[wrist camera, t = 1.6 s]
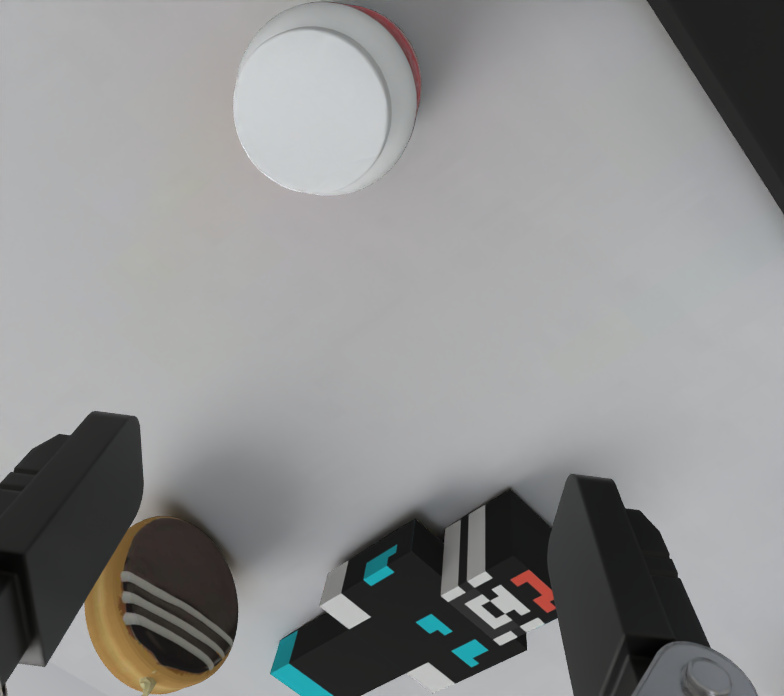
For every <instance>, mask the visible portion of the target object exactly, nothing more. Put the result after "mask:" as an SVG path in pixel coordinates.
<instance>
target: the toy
mask: <svg viewBox="0 0 784 696" xmlns="http://www.w3.org/2000/svg"><path fill="white" fill-rule="evenodd" d="M551 531H552V528H551V527H549V526H548V525H547V524H546V523H545V522H544V521H543V520H542V519H541V518H540V517H539V516H538V515H537V514H536V513H535V512H534V511H533V510H532V509H530V508H529V507H528V506H527V505H526V504H525V503H524V502H523V501H522V500H521V499H520V498H519V497H518V496H517V495H516V494H515V493H514V492H513V491H511V490H509V491H507V492H505V493H504V494H502V495H500V496H499V497H497V498H495V499H494V500H492V501H490V502H489V503H487V504H485V505H484V506H482V507H480V508H479V509H477V510H475V511H474V512H472V513H470V514H469V515H467V516H465V517H464V518H462V519H460V520H459V521H457V522H455V523H454V524H452V525H450V526H449V527H447V528H445V539H444V543H443V542H441V541H440V540H439V539H438V538H437V537H436V536H435V535H433V534H432V533H431V532H430V531H429V530H428V529H427V528H425V527H424V526H423V525H422V524H421V523H420V522H419V521H417V520H416V519H414V520H412V521H411V522H409V523H408V524H406V525H404V526H403V527H401V528H400V529H398V530H396V531H395V532H393V533H392V534H390V535H388V536H387V537H385V538H384V539H382V540H380V541H379V542H377V543H376V544H374V545H372V546H371V547H369V548H368V549H366V550H364V551H363V552H361V553H360V554H358V555H356V556H355V557H353V558H352V559H350V560H348V561H347V562H345V563H344V564H342V565H340V566H339V567H337V568H336V569H334V570H332V571H331V572H329V573H328V575H327V579H326V583H325V587H324V590H323V594H322V598H321V602H320V607H321V608H322V609H324V610H325V611H326V612H327V613H326V614H324V615H323V616H321V617H319V618H318V619H316V620H314V621H312V622H311V623H309V624H307V625H306V626H304V627H302V628H301V629H299V630H297V631H295V632H294V633H292V634H290V635H289V636H287V637H285V638H284V639H282V640H280V643H279V646H278V650H277V653H276V656H275V659H274V663H273V666H272V669H271V672H270V674H271V675H272V676H274V677H275V678H277V679H278V680H279V681H281V682H282V683H284V684H285V685H286V686H288V687H289V688H291V689H292V690H293V691H295V692H296V693H298V694H299V695H300V696H361V695H363V694H365V693H367V692H369V691H371V690H373V689H375V688H377V687H379V686H381V685H383V684H385V683H387V682H389V681H391V680H393V679H395V678H397V677H399V676H401V675H403V674H405V673H406V674H408V675H409V676H410V677H412V678H413V679H414V680H415V681H417V682H418V683H419V684H421V685H422V686H423V687H424V688H426V689H427V690H428V691H430V692H431V693H432V694H434V693H436V692H438V691H440V690H443V689H445V688H447V687H449V686H451V685H453V684H455V683H458V682H460V681H462V680H464V679H466V678H468V677H470V676H473V675H475V674H477V673H479V672H481V671H483V670H485V669H488V668H490V667H492V666H494V665H496V664H498V663H500V662H503V661H505V660H507V659H509V658H511V657H513V656H515V655H518V654H520V653H522V652H524V651H526V650H527V640H526V633H527V632H530V631H532V630H534V629H536V628H538V627H540V626H542V625H544V624H546V623H548V622H550V621H552V620H555V619H557V618H558V616H557V611H556V607H555V602H554V597H553V592H552V587H551V582H550V577H549V572H548V563H547V555H548V544H549V538H550V534H551Z"/></svg>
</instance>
